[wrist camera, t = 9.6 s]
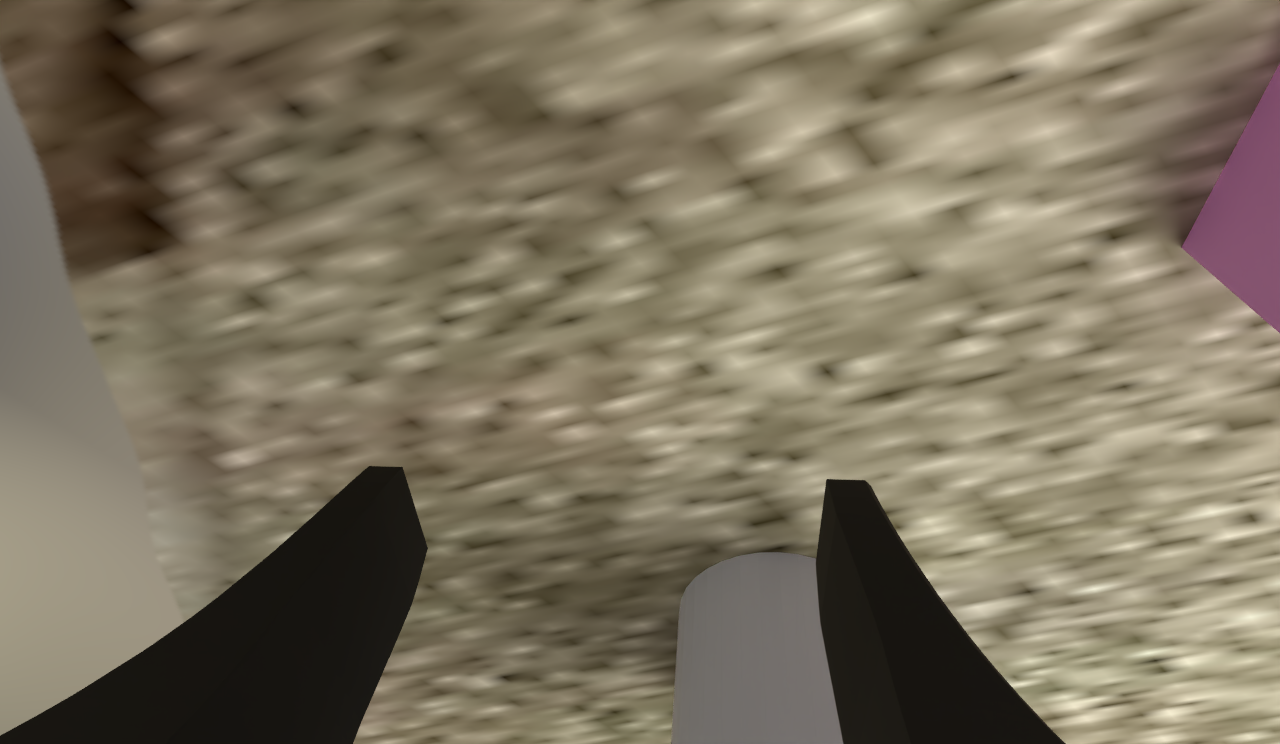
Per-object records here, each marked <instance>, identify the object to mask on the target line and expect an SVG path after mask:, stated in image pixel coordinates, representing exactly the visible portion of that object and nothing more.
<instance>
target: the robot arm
mask: <svg viewBox="0 0 1280 744" xmlns="http://www.w3.org/2000/svg"><path fill="white" fill-rule="evenodd" d="M427 549H428V548H427V545H426V541H425V538H424V535H423V532H422V529H421V525H420V522H419V519H418V516H417V512H416V509H415V506H414V503H413V499H412V496H411V493H410V490H409V487H408V483H407V480H406V477H405V474H404V470H403V467H378V466H369V467H368V468H366V469H365V470H364V471H363V472H362V473H361V474H359V475H358V476H357V477H356V478H355V479H354V480H353V481H352V482H350V483H349V484H348V485H347V486H346V487H345V488H344V489H343V490H342V491H341V492H339V493H338V494H337V495H336V496H335V497H334V498H333V499H332V500H331V501H330V502H328V503H327V504H326V505H325V506H324V507H323V508H322V509H321V510H320V511H319V512H317V513H316V514H315V515H314V516H313V517H312V518H311V519H310V520H309V521H307V522H306V523H305V524H304V525H303V526H302V527H301V528H300V529H298V530H297V531H296V532H295V533H294V534H293V535H292V536H291V537H289V538H288V539H287V540H286V541H285V542H284V543H283V544H282V545H280V546H279V547H278V548H277V549H276V550H275V551H274V552H272V553H271V554H270V555H269V556H268V557H266V558H265V559H264V560H263V561H262V562H260V563H259V564H258V565H257V566H255V567H254V568H253V569H252V570H251V571H249V572H248V573H247V574H246V575H245V576H243V577H242V578H241V579H240V580H238V581H237V582H236V583H235V584H234V585H232V586H231V587H230V588H229V589H227V590H226V591H225V592H224V593H223V594H221V595H220V596H219V597H218V598H216V599H215V600H214V601H212V602H211V603H210V604H208V605H207V606H206V607H205V608H203V609H202V610H200V611H199V612H198V613H196V614H195V615H194V616H192V617H191V618H190V619H188V620H187V621H186V622H184V623H183V624H181V625H180V626H179V627H177V628H176V629H174V630H173V631H172V632H170V633H169V634H167V635H166V636H164V637H163V638H161V639H160V640H159V641H157V642H156V643H155V644H153V645H151V646H150V647H149V648H147V649H145V650H144V651H143V652H141V653H139V654H138V655H136V656H135V657H133V658H132V659H130V660H128V661H127V662H125V663H123V664H122V665H121V666H119V667H117V668H116V669H114V670H112V671H111V672H109V673H108V674H106V675H104V676H103V677H101V678H100V679H98V680H96V681H95V682H93V683H92V684H90V685H88V686H87V687H85V688H84V689H82V690H81V691H79V692H77V693H76V694H74V695H73V696H70V697H69V698H67V699H65V700H64V701H62V702H60V703H58V704H57V705H55V706H53V707H52V708H50V709H48V710H46V711H44V712H43V713H41V714H39V715H37V716H36V717H34V718H32V719H30V720H28V721H26V722H25V723H23V724H21V725H19V726H17V727H16V728H14V729H12V730H10V731H8V732H6V733H5V734H2V735H1V736H0V744H353V742H354V739H355V737H356V734H357V732H358V729H359V726H360V724H361V721H362V719H363V717H364V714H365V712H366V710H367V708H368V705H369V703H370V701H371V698H372V696H373V694H374V691H375V689H376V687H377V684H378V682H379V680H380V677H381V675H382V673H383V671H384V668H385V666H386V664H387V661H388V659H389V657H390V654H391V652H392V650H393V648H394V645H395V643H396V640H397V638H398V636H399V633H400V631H401V629H402V626H403V624H404V622H405V619H406V617H407V614H408V612H409V610H410V607H411V605H412V602H413V599H414V595H415V592H416V589H417V585H418V582H419V579H420V575H421V571H422V568H423V564H424V560H425V556H426V553H427ZM671 744H1065V743H1064V742H1063V741H1062V740H1061V739H1060V738H1059V737H1058V736H1057V735H1056V734H1055V733H1054V732H1053V731H1052V730H1051V729H1050V728H1049V727H1048V726H1047V725H1046V724H1045V723H1044V721H1043V720H1042V719H1041V718H1040V717H1039V716H1038V715H1037V714H1036V713H1035V712H1034V711H1033V710H1032V709H1031V708H1030V706H1029V705H1028V704H1027V703H1026V702H1025V701H1024V700H1023V699H1022V698H1021V697H1020V696H1019V695H1018V693H1017V692H1016V691H1015V690H1014V689H1013V688H1012V687H1011V686H1010V684H1009V683H1008V682H1007V681H1006V680H1005V679H1004V678H1003V676H1002V675H1001V674H1000V673H999V672H998V671H997V670H996V668H995V667H994V666H993V665H992V664H991V662H990V661H989V660H988V659H987V658H986V656H985V655H984V654H983V653H982V652H981V650H980V649H979V648H978V647H977V645H976V644H975V643H974V642H973V640H972V639H971V638H970V637H969V635H968V634H967V633H966V631H965V630H964V629H963V628H962V626H961V625H960V624H959V622H958V621H957V620H956V618H955V617H954V616H953V615H952V613H951V612H950V610H949V609H948V608H947V606H946V605H945V604H944V602H943V601H942V599H941V598H940V597H939V595H938V594H937V593H936V591H935V590H934V588H933V587H932V585H931V584H930V582H929V581H928V579H927V578H926V576H925V575H924V574H923V572H922V571H921V569H920V568H919V566H918V565H917V563H916V562H915V560H914V559H913V557H912V556H911V554H910V553H909V551H908V550H907V548H906V546H905V545H904V543H903V542H902V540H901V538H900V537H899V535H898V533H897V532H896V530H895V529H894V527H893V525H892V523H891V522H890V520H889V518H888V517H887V515H886V513H885V511H884V510H883V508H882V506H881V504H880V502H879V501H878V499H877V497H876V495H875V493H874V491H873V489H872V487H871V486H870V485H869V484H868V483H867V482H866V481H865V480H833V479H827V480H826V488H825V496H824V503H823V511H822V519H821V526H820V534H819V542H818V550H817V557H816V558H812V557H808V556H804V555H800V554H793V553H783V552H759V553H752V554H746V555H740V556H736V557H733V558H730V559H727V560H724V561H721V562H719V563H717V564H715V565H713V566H711V567H709V568H707V569H706V570H704V571H703V572H702V573H700V574H699V575H698V576H696V577H695V578H694V579H693V580H692V582H691V583H690V584H689V585H688V586H687V587H686V589H685V591H684V593H683V596H682V598H681V602H680V608H679V622H678V638H677V655H676V671H675V688H674V704H673V721H672V737H671Z"/></svg>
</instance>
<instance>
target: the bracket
mask: <svg viewBox="0 0 1280 744" xmlns="http://www.w3.org/2000/svg"><path fill="white" fill-rule="evenodd" d="M1181 248H1183V249H1184V250H1185V251H1186V252H1187V253H1188V254H1189V255H1191V256H1192V257H1193V258H1194V259H1195V260H1196V261H1197V262H1199V263H1200V264H1201V265H1202V266H1203V267H1204V268H1206V269H1207V270H1208V271H1209V272H1210V273H1211V274H1212V275H1214V276H1215V277H1216V278H1217V279H1218V280H1219V281H1220V282H1222V283H1223V284H1224V285H1225V286H1226V287H1227V288H1229V289H1230V290H1231V291H1232V292H1233V293H1234V294H1235V295H1237V296H1238V297H1239V298H1240V299H1241V300H1242V301H1243V302H1245V303H1246V304H1247V305H1248V306H1249V307H1250V308H1251V309H1253V310H1254V311H1255V312H1256V313H1257V314H1258V315H1260V316H1261V317H1262V318H1263V319H1264V320H1265V321H1266V322H1268V323H1269V324H1270V325H1271V326H1272V327H1273V328H1274V329H1276V330H1277V331H1278V332H1279V333H1280V64H1279V65H1278V67H1277V69H1276V71H1275V73H1274V75H1273V77H1272V79H1271V80H1270V82H1269V84H1268V86H1267V88H1266V90H1265V92H1264V94H1263V95H1262V97H1261V99H1260V101H1259V103H1258V105H1257V107H1256V109H1255V110H1254V112H1253V114H1252V116H1251V118H1250V120H1249V122H1248V124H1247V126H1246V127H1245V129H1244V131H1243V133H1242V135H1241V137H1240V139H1239V141H1238V142H1237V144H1236V146H1235V148H1234V150H1233V152H1232V154H1231V156H1230V157H1229V159H1228V161H1227V163H1226V165H1225V167H1224V169H1223V171H1222V172H1221V174H1220V176H1219V178H1218V180H1217V182H1216V184H1215V186H1214V187H1213V189H1212V191H1211V193H1210V195H1209V197H1208V199H1207V201H1206V202H1205V204H1204V206H1203V208H1202V210H1201V212H1200V214H1199V216H1198V217H1197V219H1196V221H1195V223H1194V225H1193V227H1192V229H1191V231H1190V232H1189V234H1188V236H1187V238H1186V240H1185V242H1184V244H1183V246H1182V247H1181Z"/></svg>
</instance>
